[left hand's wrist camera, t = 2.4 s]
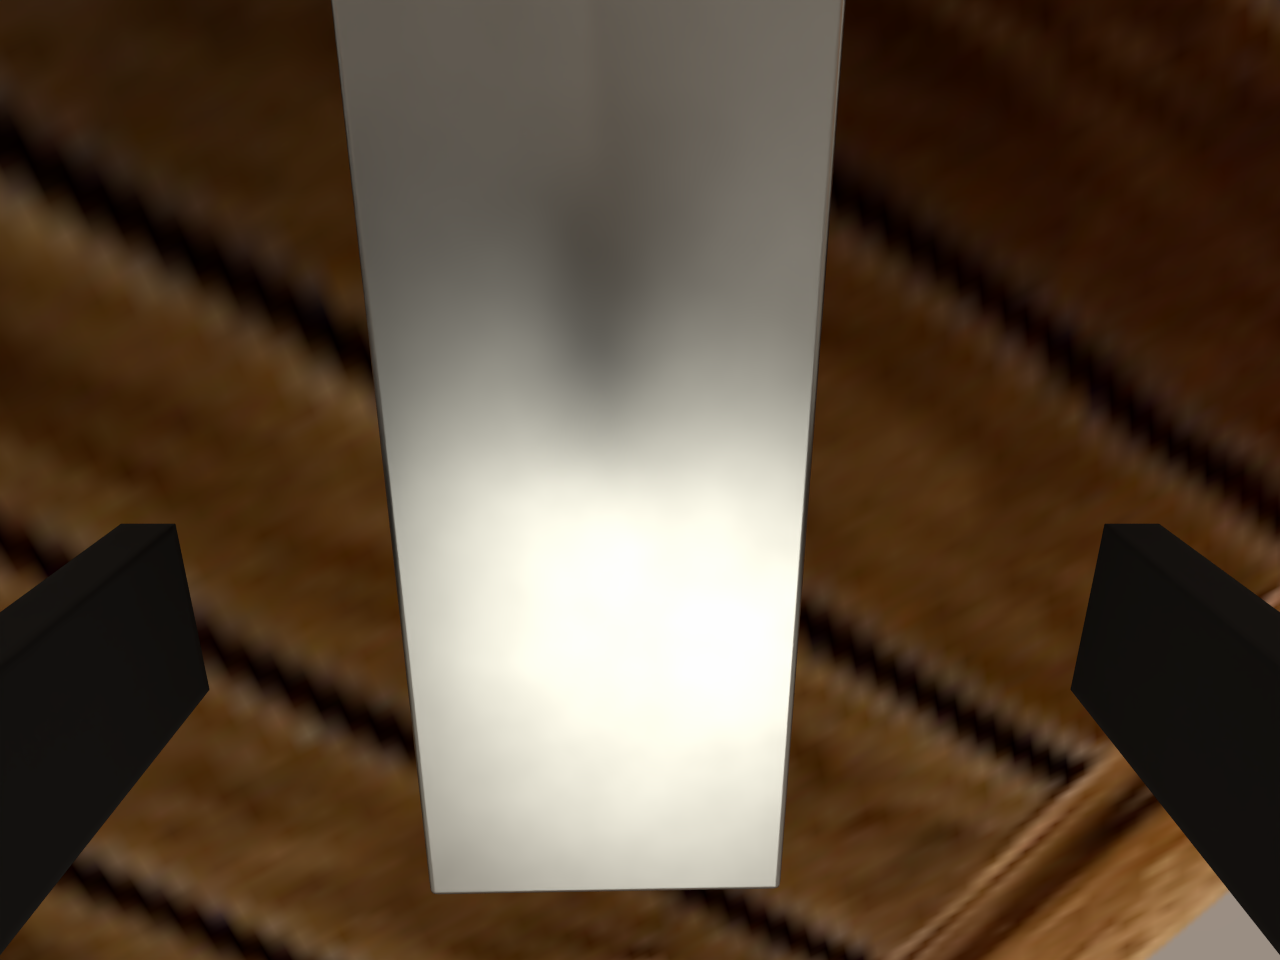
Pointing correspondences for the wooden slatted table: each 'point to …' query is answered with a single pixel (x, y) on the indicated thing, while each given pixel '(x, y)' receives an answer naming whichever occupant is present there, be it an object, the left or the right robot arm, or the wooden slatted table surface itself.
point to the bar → (596, 416)
